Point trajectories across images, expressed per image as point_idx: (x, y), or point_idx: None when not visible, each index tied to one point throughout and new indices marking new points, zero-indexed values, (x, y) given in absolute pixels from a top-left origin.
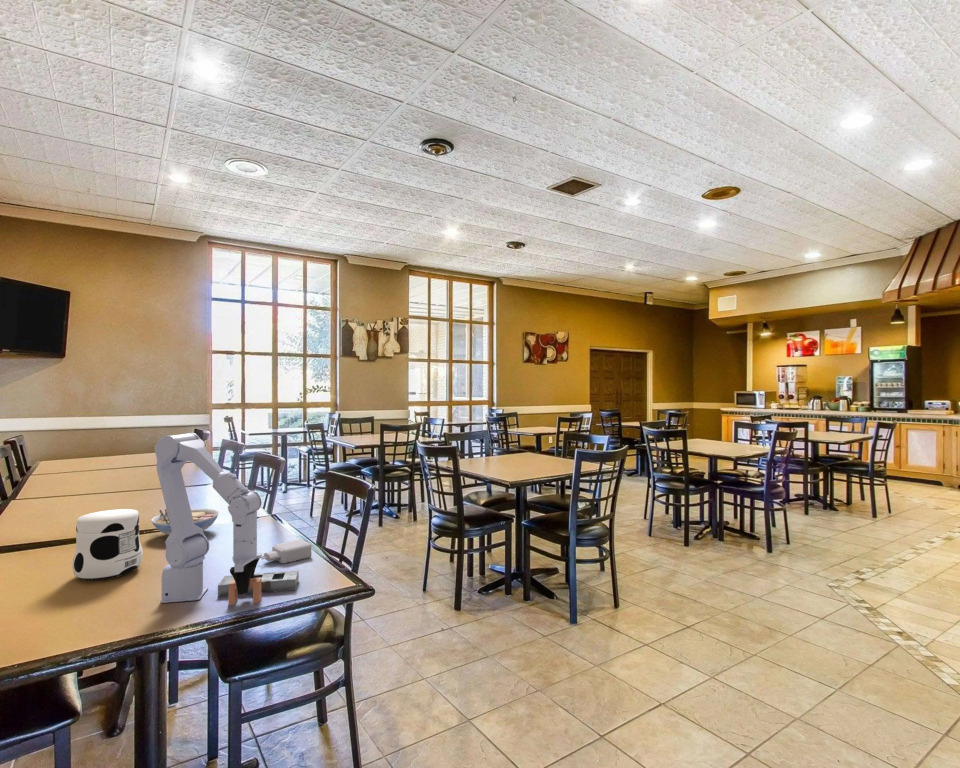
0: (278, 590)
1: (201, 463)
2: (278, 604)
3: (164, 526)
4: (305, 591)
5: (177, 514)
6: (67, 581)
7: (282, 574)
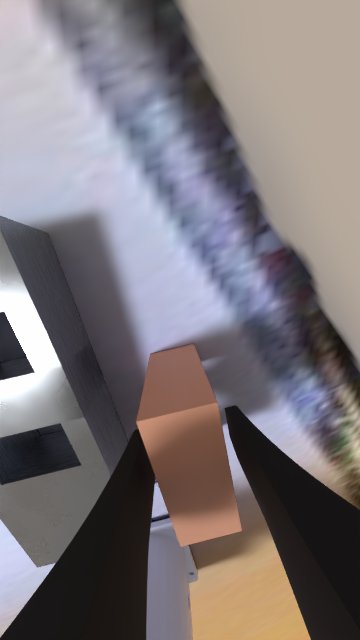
0: (75, 313)
1: None
2: (216, 256)
3: None
4: (55, 165)
5: None
6: None
7: None
